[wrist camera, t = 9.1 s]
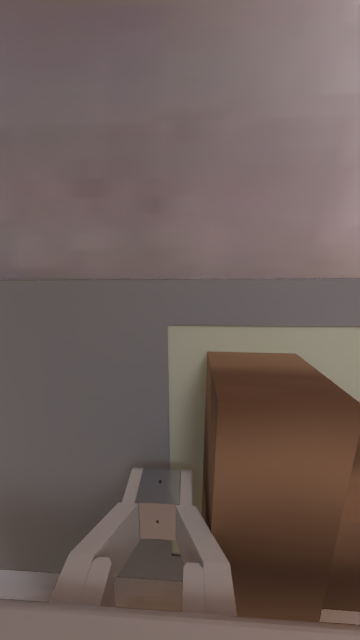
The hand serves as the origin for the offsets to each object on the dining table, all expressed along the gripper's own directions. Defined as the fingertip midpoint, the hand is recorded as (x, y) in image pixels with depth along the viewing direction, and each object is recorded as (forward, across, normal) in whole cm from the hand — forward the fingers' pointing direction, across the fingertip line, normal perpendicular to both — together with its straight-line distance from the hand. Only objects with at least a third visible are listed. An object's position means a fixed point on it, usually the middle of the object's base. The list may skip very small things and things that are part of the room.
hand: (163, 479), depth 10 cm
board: (+2, +1, 0) cm, 3 cm away
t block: (+1, -7, 0) cm, 8 cm away
